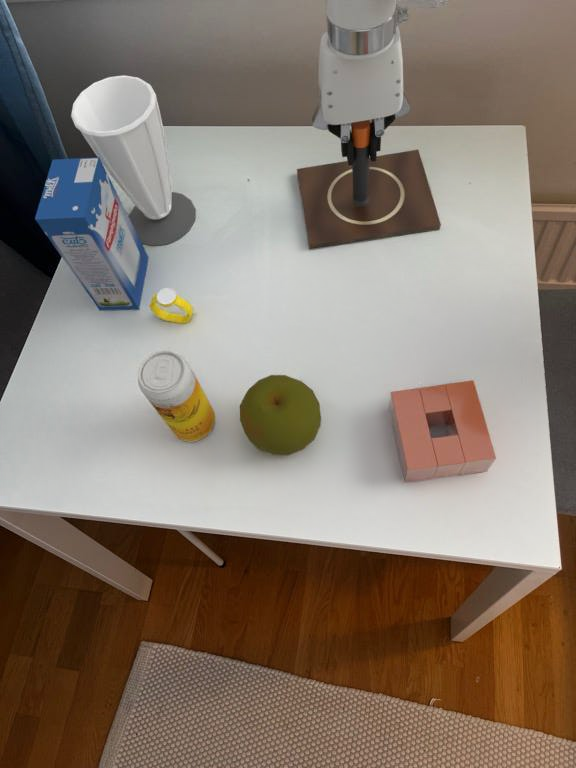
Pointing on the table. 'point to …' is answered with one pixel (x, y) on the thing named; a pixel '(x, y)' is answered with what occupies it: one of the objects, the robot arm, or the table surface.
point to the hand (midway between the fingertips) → (360, 155)
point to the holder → (443, 454)
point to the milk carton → (93, 232)
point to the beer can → (176, 395)
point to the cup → (135, 154)
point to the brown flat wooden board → (383, 211)
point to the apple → (280, 415)
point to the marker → (361, 162)
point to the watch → (168, 299)
